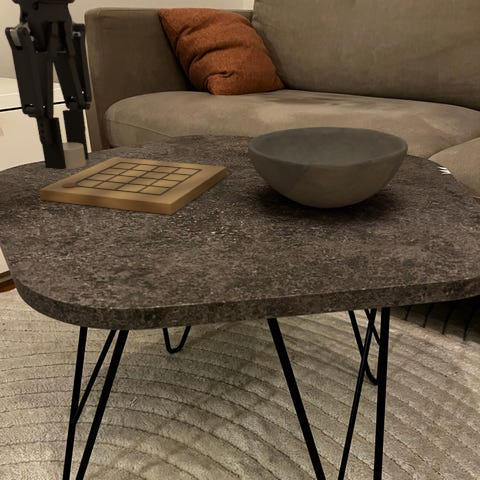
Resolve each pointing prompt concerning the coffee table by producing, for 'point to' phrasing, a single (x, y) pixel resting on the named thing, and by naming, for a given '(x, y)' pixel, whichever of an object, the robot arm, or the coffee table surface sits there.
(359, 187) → the bowl
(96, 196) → the board
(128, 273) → the coffee table surface
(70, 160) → the stone
